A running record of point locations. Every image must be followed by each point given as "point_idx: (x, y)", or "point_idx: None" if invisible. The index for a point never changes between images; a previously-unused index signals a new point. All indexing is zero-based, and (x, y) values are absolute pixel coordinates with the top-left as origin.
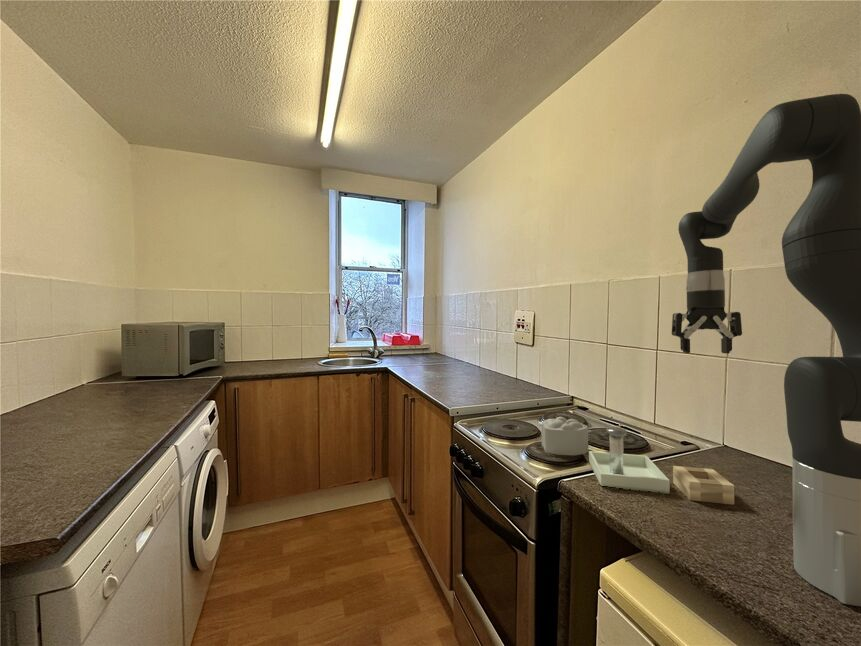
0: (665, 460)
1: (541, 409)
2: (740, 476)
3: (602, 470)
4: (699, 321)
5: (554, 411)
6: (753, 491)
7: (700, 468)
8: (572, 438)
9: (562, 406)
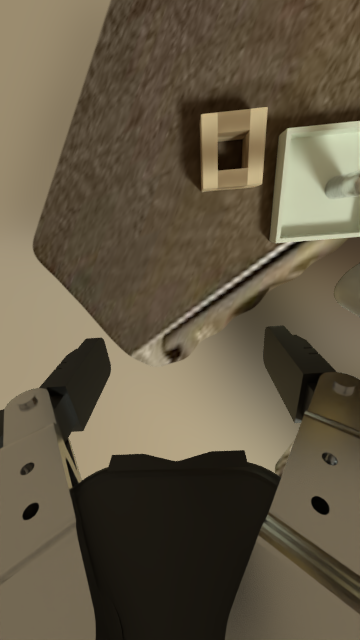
0: (229, 277)
1: None
2: (149, 244)
3: None
4: (327, 560)
5: None
6: (153, 191)
7: (221, 185)
8: None
9: None
